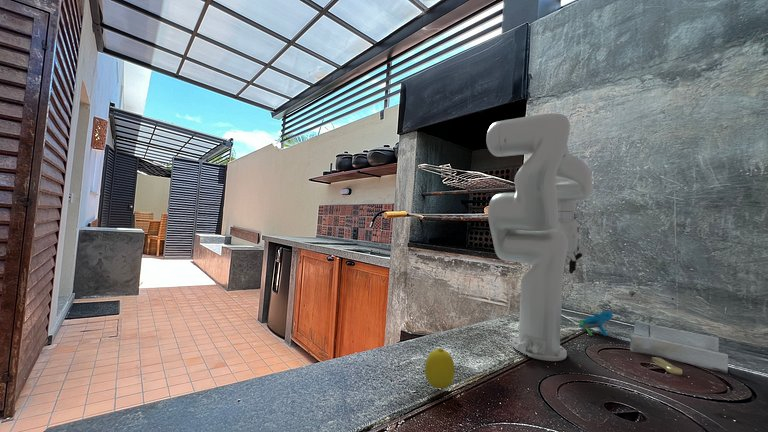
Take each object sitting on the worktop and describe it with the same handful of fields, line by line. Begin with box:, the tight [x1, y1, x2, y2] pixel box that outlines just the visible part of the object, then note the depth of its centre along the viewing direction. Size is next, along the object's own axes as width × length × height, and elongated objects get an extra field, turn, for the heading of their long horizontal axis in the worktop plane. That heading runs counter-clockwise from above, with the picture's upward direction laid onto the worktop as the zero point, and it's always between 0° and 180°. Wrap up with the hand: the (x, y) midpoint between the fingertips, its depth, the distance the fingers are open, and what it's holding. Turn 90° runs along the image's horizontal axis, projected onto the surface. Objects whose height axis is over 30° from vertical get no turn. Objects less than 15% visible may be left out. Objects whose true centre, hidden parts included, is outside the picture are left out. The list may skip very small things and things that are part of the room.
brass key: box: [651, 356, 683, 376], centre depth 72 cm, size 7×3×1 cm, turn 173°
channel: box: [629, 319, 729, 374], centre depth 83 cm, size 20×18×4 cm
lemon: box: [424, 347, 456, 390], centre depth 59 cm, size 6×6×8 cm
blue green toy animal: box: [577, 310, 614, 337], centre depth 94 cm, size 11×6×10 cm
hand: (559, 270), depth 102 cm, fingers open, 6 cm apart
